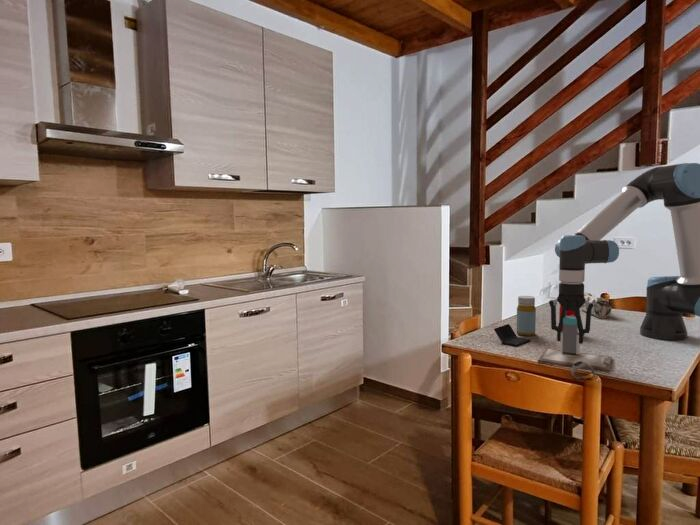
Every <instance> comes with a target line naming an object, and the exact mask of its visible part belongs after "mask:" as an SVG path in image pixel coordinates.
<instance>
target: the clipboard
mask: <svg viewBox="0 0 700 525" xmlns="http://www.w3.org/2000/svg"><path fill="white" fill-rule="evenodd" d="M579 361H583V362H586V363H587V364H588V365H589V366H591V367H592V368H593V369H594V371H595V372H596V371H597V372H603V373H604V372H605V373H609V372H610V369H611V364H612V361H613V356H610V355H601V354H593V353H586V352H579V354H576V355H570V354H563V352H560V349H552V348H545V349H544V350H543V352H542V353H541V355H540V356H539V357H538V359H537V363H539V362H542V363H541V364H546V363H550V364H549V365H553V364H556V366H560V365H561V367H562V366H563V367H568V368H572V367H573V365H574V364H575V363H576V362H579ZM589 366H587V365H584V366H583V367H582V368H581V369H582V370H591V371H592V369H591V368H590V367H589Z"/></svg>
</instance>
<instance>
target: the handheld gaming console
mask: <svg viewBox="0 0 700 525" xmlns="http://www.w3.org/2000/svg"><path fill="white" fill-rule="evenodd" d="M493 330H494V332H495V334H496V335H497V337H498V338H499V340H500V342H501V345H505V346H510V347H515V348H517V347H520V346H523V345H525V344H527V343H530V342H531V339H530V338H527V337H526V338H525V337H520V336H518V335H516V334H517V333H515V331H514V328H512V325H511V324H509V323H507V324H504V325H501V326H498V327H496V328H494V329H493Z"/></svg>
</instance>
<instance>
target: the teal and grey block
mask: <svg viewBox="0 0 700 525" xmlns="http://www.w3.org/2000/svg"><path fill="white" fill-rule="evenodd" d="M577 333H579V331H578V326H577V319H576V317H573V316H565V318H563V354H570V355H576V334H577Z"/></svg>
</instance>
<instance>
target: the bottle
mask: <svg viewBox="0 0 700 525" xmlns="http://www.w3.org/2000/svg"><path fill="white" fill-rule="evenodd" d="M535 301H536V298H535V296H531V295H519V296H518V298H517V307H516V334H517V335H519V336H524V337H533V336H535V334H536V325H537V324H536V322H537V321H536V320H537V319H536V318H537V317H536V316H537V315H536V314H537V313H536V311H537V310H536V309H537V308H536V306H535V305H536V302H535Z"/></svg>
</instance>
